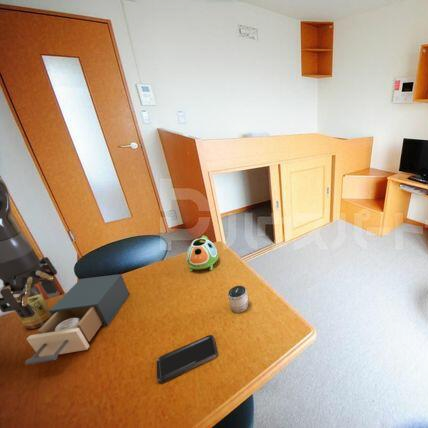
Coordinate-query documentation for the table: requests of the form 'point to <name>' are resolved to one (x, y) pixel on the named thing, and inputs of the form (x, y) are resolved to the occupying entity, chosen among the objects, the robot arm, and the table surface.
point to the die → (68, 324)
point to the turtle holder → (201, 254)
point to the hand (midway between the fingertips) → (41, 303)
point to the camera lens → (238, 299)
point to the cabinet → (95, 296)
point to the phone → (185, 358)
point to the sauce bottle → (36, 309)
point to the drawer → (64, 334)
